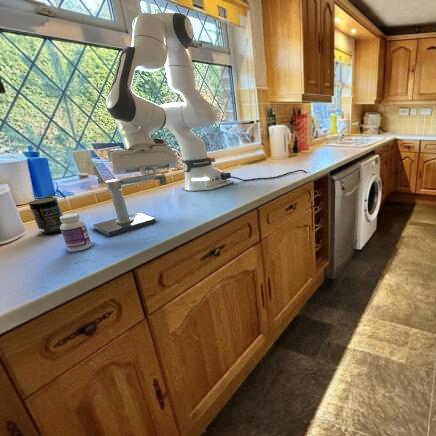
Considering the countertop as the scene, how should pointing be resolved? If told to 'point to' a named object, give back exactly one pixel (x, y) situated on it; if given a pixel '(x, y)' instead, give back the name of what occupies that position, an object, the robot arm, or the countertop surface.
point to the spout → (134, 181)
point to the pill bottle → (74, 232)
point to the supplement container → (47, 215)
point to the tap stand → (122, 217)
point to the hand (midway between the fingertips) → (152, 178)
